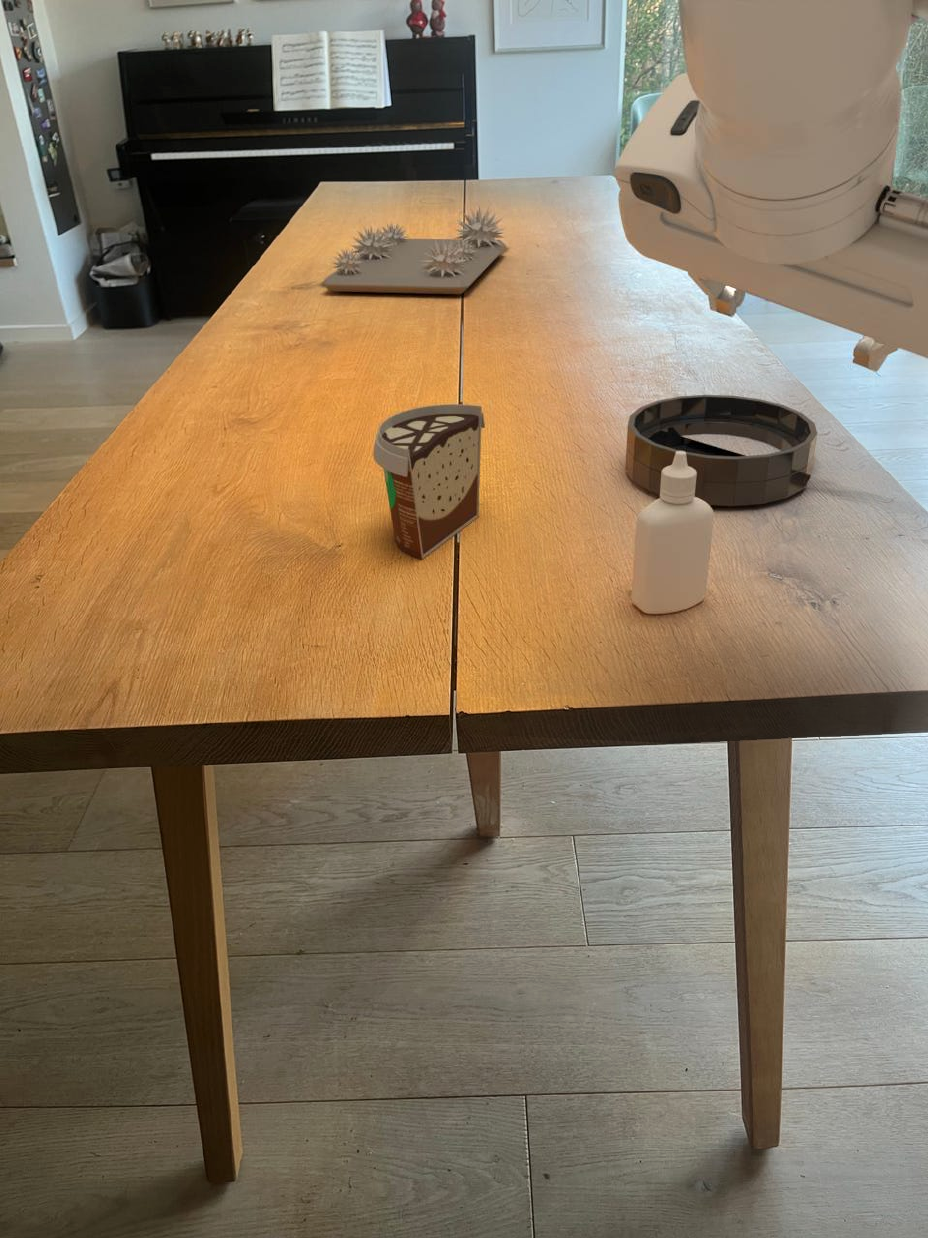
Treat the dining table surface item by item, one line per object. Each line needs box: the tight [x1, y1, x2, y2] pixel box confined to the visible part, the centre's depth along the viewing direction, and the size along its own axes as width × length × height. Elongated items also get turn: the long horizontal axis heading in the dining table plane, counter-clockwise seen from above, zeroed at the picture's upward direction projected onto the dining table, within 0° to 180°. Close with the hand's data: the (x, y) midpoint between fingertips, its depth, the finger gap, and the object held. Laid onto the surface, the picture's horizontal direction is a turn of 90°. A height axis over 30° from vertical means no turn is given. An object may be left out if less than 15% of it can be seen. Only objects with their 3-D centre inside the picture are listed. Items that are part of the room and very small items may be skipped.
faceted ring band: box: [624, 394, 818, 507], centre depth 94 cm, size 17×17×5 cm
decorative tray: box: [321, 205, 507, 295], centre depth 174 cm, size 35×26×10 cm
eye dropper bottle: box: [630, 451, 714, 615], centre depth 72 cm, size 4×6×12 cm
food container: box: [372, 403, 486, 560], centre depth 84 cm, size 12×6×10 cm, turn 149°
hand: (797, 330), depth 60 cm, fingers open, 8 cm apart
